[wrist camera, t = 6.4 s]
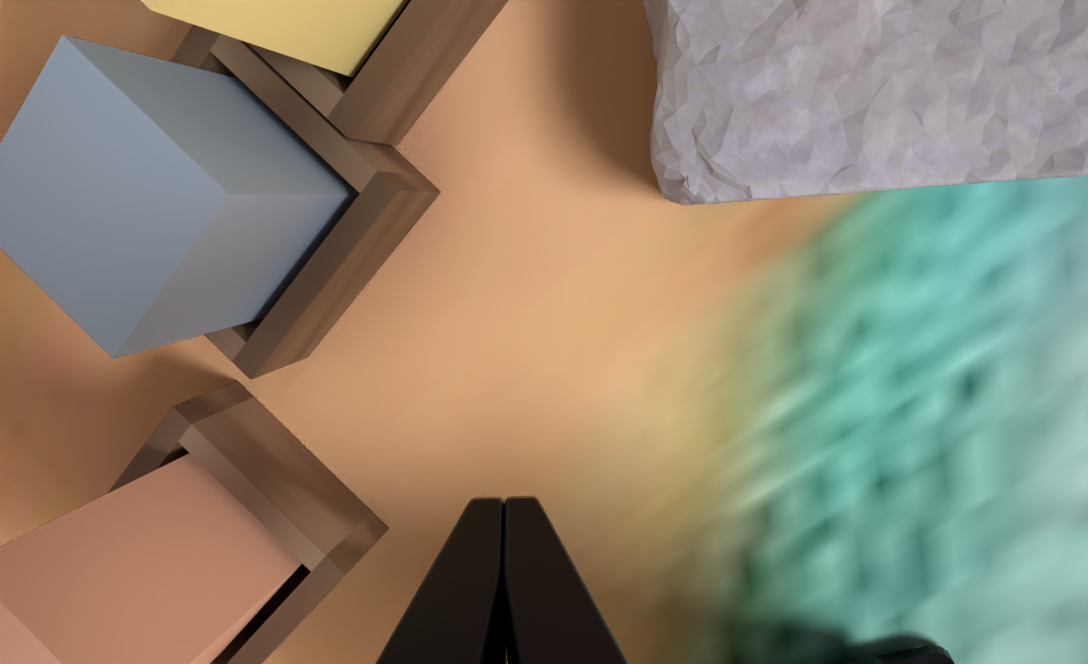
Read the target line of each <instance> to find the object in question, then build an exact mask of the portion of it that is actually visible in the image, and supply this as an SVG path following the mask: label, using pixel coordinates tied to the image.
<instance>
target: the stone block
mask: <svg viewBox="0 0 1088 664" xmlns="http://www.w3.org/2000/svg"><path fill="white" fill-rule="evenodd" d="M643 5H644V8H645V10H646V14H647V20H648V24H649V27H650V31H651V35H652V41H653V46H652V53H653V55H654V57H655V60H656V62H657V64H658V68H657V90H656V96H655V102H654V108H653V124H652V128H651V132H650V143H651V146H650V154H651V165H652V167H653V170H654V172H655V174H656V177H657V180H658V184H659V188H660V191H661V193H662V195H663V197H664V198H666V199H668V200H670V201H672V202H674V203H678V204H680V205H696V204H716V203H725V202H739V201H751V200H767V199H777V198H790V197H806V196H822V195H833V194H844V193H855V192H866V191H878V190H893V189H906V188H917V187H928V186H941V185H956V184H973V183H984V182H996V181H1009V180H1025V179H1041V178H1061V177H1075V176H1083V175H1088V0H643Z"/></svg>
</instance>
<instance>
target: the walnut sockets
mask: <svg viewBox="0 0 1088 664" xmlns="http://www.w3.org/2000/svg"><path fill="white" fill-rule="evenodd" d="M507 1H508V0H411V2H410V3H409V4H408V6H407V7H406V8H405V10H404V11H403V13H402V14H401V15H400V17H399V18H398V20H397V21H396V22H395V24H394V25H393V27H392V28H391V29H390V31H389V32H388V33H387V35H386V36H385V38H384V39H383V40H382V42H381V43H380V45H379V46H378V47H377V49H376V50H375V51H374V53H373V54H372V56H371V57H370V58H369V60H368V61H367V63H366V64H365V65H364V67H363V68H362V69H361V71H360V72H359V74H358V75H357V74H355V75H354V76H353V77H350V76H347V75H344V74H341V73H338V72H335V71H332V70H329V69H326V68H323V67H320V66H317V65H314V64H311V63H308V62H305V61H302V60H299V59H296V58H293V57H290V56H287V55H284V54H281V53H278V52H275V51H272V50H269V49H266V48H263V47H260V46H257V45H254V44H251V43H248V42H245V41H242V40H239V39H236V38H233V37H230V36H227V35H224V34H221V33H218V32H215V31H212V30H209V29H206V28H203V27H200V26H197V25H193V26H192V28H191V29H190V31H189V32H188V34H187V36H186V37H185V39H184V40H183V42H182V44H181V45H180V47H179V48H178V50H177V52H176V53H175V55H174V56H173V58H172V60H171V61H170V62H174V63H178V64H182V65H186V66H190V67H194V68H198V69H202V70H206V71H210V72H214V73H218V74H222V75H226V76H230V77H234V78H238V79H240V80H241V81H242V82H243V83H244V84H245V85H246V86H247V87H248V88H249V89H250V90H252V91H253V92H254V93H255V94H256V95H257V96H258V97H259V98H260V99H261V100H262V101H263V102H264V103H265V104H266V105H267V106H268V107H269V108H271V109H272V110H273V111H274V112H275V113H276V114H277V115H278V116H279V117H280V118H281V119H282V120H283V121H284V122H285V123H286V124H287V125H288V126H290V127H291V128H292V129H293V130H294V131H295V132H296V133H297V134H298V135H299V136H300V137H301V138H302V139H303V140H304V141H305V142H306V143H307V144H308V145H310V146H311V147H312V148H313V149H314V150H315V151H316V152H317V153H318V154H319V155H320V156H321V157H322V158H323V159H324V160H325V161H326V162H327V163H329V164H330V165H331V166H332V167H333V168H334V169H335V170H336V171H337V172H338V173H339V174H340V175H341V176H342V177H343V178H344V179H345V180H346V181H347V182H349V183H350V184H351V185H352V186H353V187H354V188H355V189H356V190H357V191H358V192H359V193H360V194H359V196H358V197H357V198H356V199H355V201H354V202H353V203H352V205H351V206H350V207H349V209H348V210H347V211H346V212H345V214H344V215H343V216H342V218H341V219H340V220H339V222H338V223H337V224H336V226H335V227H334V228H333V229H332V231H331V232H330V233H329V235H328V236H327V237H326V239H325V240H324V241H323V243H322V244H321V245H320V246H319V248H318V249H317V250H316V252H315V253H314V254H313V256H312V257H311V258H310V259H309V261H308V262H307V263H306V265H305V266H304V267H303V269H302V270H301V271H300V273H299V274H298V275H297V276H296V278H295V279H294V280H293V282H292V283H291V284H290V286H289V287H288V288H287V290H286V291H285V292H284V293H283V295H282V296H281V297H280V299H279V300H278V301H277V303H276V304H275V305H274V306H273V308H272V309H271V310H270V312H269V313H268V314H267V316H266V317H265V318H262V319H259V320H255V321H251V322H248V323H244V324H240V325H236V326H233V327H229V328H225V329H222V330H218V331H214V332H210V333H207V334H204V335H205V336H206V337H207V338H208V339H209V340H210V341H211V342H212V343H213V344H214V345H215V346H216V347H217V348H218V349H219V350H220V351H221V352H223V353H224V354H225V355H226V356H227V357H228V358H229V359H230V360H231V361H232V362H233V363H234V364H235V365H236V366H237V367H238V368H239V369H240V370H241V371H242V372H243V373H244V374H245V375H246V376H247V377H248V378H249V379H250V380H251V379H254V378H256V377H259V376H261V375H264V374H266V373H269V372H271V371H274V370H276V369H279V368H282V367H284V366H287V365H289V364H292V363H294V362H297V361H299V360H302V359H304V358H307V357H308V356H309V355H310V354H311V352H312V351H313V350H314V349H315V347H316V346H317V345H318V344H319V342H320V341H321V340H322V339H323V338H324V336H325V335H326V334H327V333H328V331H329V330H330V329H331V328H332V326H333V325H334V324H335V323H336V321H337V320H338V319H339V318H340V316H341V315H342V314H343V313H344V311H345V310H346V309H347V308H348V307H349V305H350V304H351V303H352V302H353V300H354V299H355V298H356V297H357V295H358V294H359V293H360V292H361V290H362V289H363V288H364V287H365V285H366V284H367V283H368V282H369V280H370V279H371V278H372V277H373V275H374V274H375V273H376V272H377V271H378V269H379V268H380V267H381V266H382V264H383V263H384V262H385V261H386V259H387V258H388V257H389V256H390V254H391V253H392V252H393V251H394V249H395V248H396V247H397V246H398V244H399V243H400V242H401V241H402V240H403V238H404V237H405V236H406V235H407V233H408V232H409V231H410V230H411V228H412V227H413V226H414V225H415V223H416V222H417V221H418V220H419V218H420V217H421V216H422V215H423V213H424V212H425V211H426V210H427V209H428V207H429V206H430V205H431V204H432V202H433V201H434V200H435V199H436V197H437V196H438V195H439V194H440V191H439V190H438V189H437V188H436V187H435V186H434V185H433V184H432V183H431V182H430V181H429V180H428V179H427V178H426V177H425V176H423V175H422V174H421V173H420V172H419V171H418V170H417V169H416V168H415V167H414V166H413V165H412V164H411V163H410V162H409V161H408V160H407V159H405V158H404V157H403V156H402V155H401V154H400V153H399V152H398V151H397V150H396V149H395V148H394V147H393V146H392V145H394V146H397V145H398V144H399V142H400V141H401V140H402V138H403V137H404V136H405V135H406V133H407V132H408V131H409V129H410V128H411V127H412V125H413V124H414V123H415V121H416V120H417V119H418V118H419V116H420V115H421V114H422V112H423V111H424V110H425V108H426V107H427V106H428V104H429V103H430V102H431V101H432V99H433V98H434V97H435V95H436V94H437V93H438V91H439V90H440V89H441V88H442V86H443V85H444V84H445V82H446V81H447V80H448V78H449V77H450V76H451V74H452V73H453V72H454V71H455V69H456V68H457V67H458V65H459V64H460V63H461V61H462V60H463V59H464V57H465V56H466V55H467V54H468V52H469V51H470V50H471V48H472V47H473V46H474V44H475V43H476V42H477V41H478V39H479V38H480V37H481V35H482V34H483V33H484V31H485V30H486V29H487V27H488V26H489V25H490V24H491V22H492V21H493V20H494V18H495V17H496V16H497V14H498V13H499V12H500V10H501V9H502V8H503V7H504V5H505V4H506V3H507ZM189 453H190V454H191V455H192V456H193V457H194V458H195V459H196V460H197V461H198V462H199V463H200V464H201V465H203V466H204V467H205V468H206V469H207V470H208V471H209V472H210V473H211V474H212V475H213V476H214V477H215V478H216V479H217V480H218V481H219V482H220V483H221V484H222V485H223V486H224V487H225V488H226V489H227V490H228V491H229V492H230V493H231V494H232V495H233V496H234V497H235V498H236V499H237V500H238V501H239V502H240V503H241V504H242V505H243V506H244V507H245V508H246V509H247V510H248V511H249V512H250V513H251V514H252V515H253V516H254V517H256V518H257V519H258V520H259V521H260V522H261V523H262V524H263V525H264V526H265V527H266V528H267V529H268V530H269V531H270V532H271V533H272V534H273V535H274V536H275V537H276V538H277V539H278V540H279V541H280V542H281V543H282V544H283V545H284V546H285V547H286V548H287V549H288V550H289V551H290V552H291V553H292V554H293V555H294V556H295V557H296V558H297V559H298V560H299V561H300V562H301V563H302V564H303V565H304V566H305V567H306V568H307V569H309V570H310V571H311V572H310V574H309V575H308V576H307V577H306V578H305V579H304V580H303V581H302V582H301V583H300V584H299V586H298V587H297V588H296V589H295V590H294V591H293V592H292V593H291V594H290V595H289V596H288V598H287V599H286V600H285V601H284V602H283V603H282V604H281V605H280V606H279V607H278V608H277V610H276V611H275V612H274V613H273V614H272V615H271V616H270V617H269V618H268V619H267V620H266V621H264V620H263V619H262V618H261V617H260V616H259V615H258V614H256V615H255V616H254V617H253V618H252V620H251V621H250V622H249V623H248V624H247V625H246V626H245V627H244V628H243V629H242V631H241V632H240V633H239V634H238V635H237V636H236V637H235V638H234V639H233V640H232V642H231V643H230V644H229V645H228V646H227V647H226V648H225V649H224V650H223V652H222V653H220V654H219V655H218V656H217V657H216V658H215V659H214V660H213V661H212V662H211V663H210V664H262V663H263V662H264V661H265V660H266V659H267V658H268V657H269V655H270V654H271V653H272V652H273V651H274V650H275V649H276V648H277V647H278V646H279V645H280V644H281V643H282V642H283V641H284V640H285V639H286V637H287V636H288V635H289V634H290V633H291V632H292V631H293V630H294V629H295V628H296V627H297V626H298V625H299V624H300V623H301V622H302V620H303V619H304V618H305V617H306V616H307V615H308V614H309V613H310V612H311V611H312V610H313V609H314V608H315V607H316V606H317V605H318V603H319V602H320V601H321V600H322V599H323V598H324V597H325V596H326V595H327V594H328V593H329V592H330V591H331V590H332V589H333V587H334V586H335V585H336V584H337V583H338V582H339V581H340V580H341V579H342V578H343V577H344V576H345V575H346V574H347V573H348V572H349V570H350V569H351V568H352V567H353V566H354V565H355V564H356V563H357V562H358V561H359V560H360V559H361V558H362V557H363V556H364V555H365V553H366V552H367V551H368V550H369V549H370V548H371V547H372V546H373V545H374V544H375V543H376V542H377V541H378V540H379V539H380V538H381V536H382V535H383V534H384V533H385V532H386V531H387V530H388V529H389V528H388V527H387V526H386V525H385V524H384V523H383V522H382V521H381V520H380V519H379V518H378V517H377V516H376V515H375V514H374V513H373V512H372V511H371V510H370V509H369V508H368V507H367V506H365V505H364V504H363V503H362V502H361V501H360V500H359V499H358V498H357V497H356V496H355V495H354V494H353V493H352V492H351V491H350V490H349V489H348V488H347V487H346V486H345V485H344V484H343V483H342V482H341V481H340V480H339V479H338V478H337V477H336V476H335V475H334V474H333V473H332V472H331V471H329V470H328V469H327V468H326V467H325V466H324V465H323V464H322V463H321V462H320V461H319V460H318V459H317V458H316V457H315V456H314V455H313V454H312V453H311V452H310V451H309V450H308V449H307V448H306V447H305V446H304V445H303V444H302V443H301V442H300V441H299V440H298V439H297V438H296V437H294V436H293V435H292V434H291V433H290V432H289V431H288V430H287V429H286V428H285V427H284V426H283V425H282V424H281V423H280V422H279V421H278V420H277V419H276V418H275V417H274V416H273V415H272V414H271V413H270V412H269V411H268V410H267V409H266V408H265V407H264V406H263V405H262V404H261V403H260V402H258V401H257V400H256V399H255V398H254V397H253V396H252V395H251V394H250V393H249V392H248V391H247V390H246V389H245V388H244V387H243V386H242V385H241V384H240V383H239V382H238V381H237V382H234V383H232V384H229V385H227V386H224V387H221V388H219V389H216V390H214V391H211V392H209V393H206V394H203V395H201V396H198V397H196V398H193V399H191V400H188V401H185V402H183V403H180V404H178V405H175V406H173V407H172V408H171V410H170V411H169V412H168V414H167V415H166V416H165V418H164V419H163V420H162V422H161V423H160V424H159V426H158V427H157V428H156V430H155V431H154V432H153V434H152V435H151V436H150V438H149V439H148V440H147V442H146V443H145V444H144V446H143V447H142V448H141V450H140V451H139V452H138V454H137V455H136V456H135V457H134V459H133V460H132V461H131V463H130V464H129V465H128V467H127V468H126V469H125V471H124V472H123V473H122V475H121V476H120V477H119V479H118V480H117V481H116V483H115V484H114V485H113V487H112V488H111V489H110V491H109V492H108V493H110V492H112V491H114V490H116V489H118V488H120V487H122V486H124V485H126V484H128V483H130V482H132V481H134V480H136V479H138V478H140V477H142V476H144V475H146V474H148V473H151V472H153V471H155V470H157V469H159V468H161V467H163V466H165V465H167V464H169V463H171V462H173V461H175V460H177V459H179V458H181V457H183V456H185V455H187V454H189ZM108 493H107V494H108Z"/></svg>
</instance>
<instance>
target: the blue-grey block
mask: <svg viewBox="0 0 1088 664" xmlns="http://www.w3.org/2000/svg"><path fill="white" fill-rule="evenodd" d="M359 194H360V193H359V192H358V191H357V190H356V189H355V188H354V187H353V186H352V185H351V184H350V183H349V182H347V181H346V180H345V179H344V178H343V177H342V176H341V175H340V174H339V173H338V172H337V171H336V170H335V169H334V168H333V167H332V166H331V165H330V164H329V163H327V162H326V161H325V160H324V159H323V158H322V157H321V156H320V155H319V154H318V153H317V152H316V151H315V150H314V149H313V148H312V147H311V146H310V145H308V144H307V143H306V142H305V141H304V140H303V139H302V138H301V137H300V136H299V135H298V134H297V133H296V132H295V131H294V130H293V129H292V128H291V127H290V126H288V125H287V124H286V123H285V122H284V121H283V120H282V119H281V118H280V117H279V116H278V115H277V114H276V113H275V112H274V111H273V110H272V109H271V108H269V107H268V106H267V105H266V104H265V103H264V102H263V101H262V100H261V99H260V98H259V97H258V96H257V95H256V94H255V93H254V92H253V91H252V90H250V89H249V88H248V87H247V86H246V85H245V84H244V83H243V82H242V81H241V80H240V79H238V78H234V77H230V76H226V75H222V74H218V73H214V72H210V71H206V70H202V69H198V68H194V67H190V66H186V65H182V64H178V63H174V62H170V61H166V60H162V59H158V58H154V57H150V56H146V55H142V54H138V53H134V52H130V51H126V50H122V49H118V48H114V47H110V46H106V45H102V44H98V43H94V42H90V41H86V40H82V39H78V38H74V37H70V36H66V35H62V36H61V38H60V40H59V41H58V43H57V45H56V47H55V48H54V50H53V52H52V54H51V55H50V57H49V59H48V61H47V62H46V64H45V66H44V68H43V69H42V71H41V73H40V75H39V76H38V78H37V80H36V82H35V83H34V85H33V87H32V89H31V90H30V92H29V94H28V96H27V97H26V99H25V101H24V103H23V105H22V106H21V108H20V110H19V112H18V113H17V115H16V117H15V119H14V120H13V122H12V124H11V126H10V127H9V129H8V131H7V133H6V134H5V136H4V138H3V140H2V141H1V143H0V249H1V250H2V251H3V252H4V253H6V254H7V255H8V256H9V257H10V258H11V259H12V260H13V261H14V262H15V263H16V264H17V265H18V266H19V267H20V268H21V269H22V270H23V271H24V272H25V273H26V274H27V275H28V276H29V277H30V278H31V279H32V280H33V281H34V282H35V283H36V284H37V285H38V286H39V287H40V288H41V289H42V290H43V291H44V292H45V293H46V294H47V295H48V296H49V297H50V298H51V299H52V300H53V301H54V302H56V303H57V304H58V305H59V306H60V307H61V308H62V309H63V310H64V311H65V312H66V313H67V314H68V315H69V316H70V317H71V318H72V319H73V320H74V321H75V322H76V323H77V324H78V325H79V326H80V327H81V328H82V329H83V330H84V331H85V332H86V333H87V334H88V335H89V336H90V337H91V338H92V339H93V340H94V341H95V342H96V343H97V344H98V345H99V346H100V347H101V348H102V349H103V350H105V351H106V352H107V353H108V354H109V355H110V356H111V357H112V358H113V359H114V358H118V357H122V356H125V355H129V354H133V353H136V352H140V351H144V350H148V349H151V348H155V347H159V346H162V345H166V344H170V343H173V342H177V341H181V340H185V339H188V338H192V337H196V336H199V335H203V334H207V333H210V332H214V331H218V330H222V329H225V328H229V327H233V326H236V325H240V324H244V323H248V322H251V321H255V320H259V319H262V318H265V317H266V316H267V314H268V313H269V312H270V310H271V309H272V308H273V306H274V305H275V304H276V303H277V301H278V300H279V299H280V297H281V296H282V295H283V293H284V292H285V291H286V290H287V288H288V287H289V286H290V284H291V283H292V282H293V280H294V279H295V278H296V276H297V275H298V274H299V273H300V271H301V270H302V269H303V267H304V266H305V265H306V263H307V262H308V261H309V259H310V258H311V257H312V256H313V254H314V253H315V252H316V250H317V249H318V248H319V246H320V245H321V244H322V243H323V241H324V240H325V239H326V237H327V236H328V235H329V233H330V232H331V231H332V229H333V228H334V227H335V226H336V224H337V223H338V222H339V220H340V219H341V218H342V216H343V215H344V214H345V212H346V211H347V210H348V209H349V207H350V206H351V205H352V203H353V202H354V201H355V199H356V198H357V197H358V196H359Z"/></svg>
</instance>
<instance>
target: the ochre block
mask: <svg viewBox="0 0 1088 664" xmlns="http://www.w3.org/2000/svg"><path fill="white" fill-rule="evenodd" d="M141 1H142V2H143V3H144V4H145V5H146V6H147V7H148V8H149V9H150V10H152V11H155V12H158V13H161V14H164V15H167V16H170V17H173V18H176V19H179V20H182V21H185V22H188V23H191V24H194V25H197V26H200V27H203V28H206V29H209V30H212V31H215V32H218V33H221V34H224V35H227V36H230V37H233V38H236V39H239V40H242V41H245V42H248V43H251V44H254V45H257V46H260V47H263V48H266V49H269V50H272V51H275V52H278V53H281V54H284V55H287V56H290V57H293V58H296V59H299V60H302V61H305V62H308V63H311V64H314V65H317V66H320V67H323V68H326V69H329V70H332V71H335V72H338V73H341V74H344V75H347V76H350V77H353V76H354V75H355V74H356V72H357V71H358V69H359V68H360V67H361V65H362V64H363V62H364V61H365V60H366V58H367V57H368V56H369V54H370V53H371V51H372V50H373V49H374V47H375V46H376V44H377V43H378V42H379V40H380V39H381V37H382V36H383V35H384V33H385V32H386V31H387V29H388V28H389V26H390V25H391V24H392V22H393V21H394V19H395V18H396V17H397V15H398V14H399V12H400V11H401V10H402V8H403V7H404V6H405V4H406V3H407V1H408V0H141Z"/></svg>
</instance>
